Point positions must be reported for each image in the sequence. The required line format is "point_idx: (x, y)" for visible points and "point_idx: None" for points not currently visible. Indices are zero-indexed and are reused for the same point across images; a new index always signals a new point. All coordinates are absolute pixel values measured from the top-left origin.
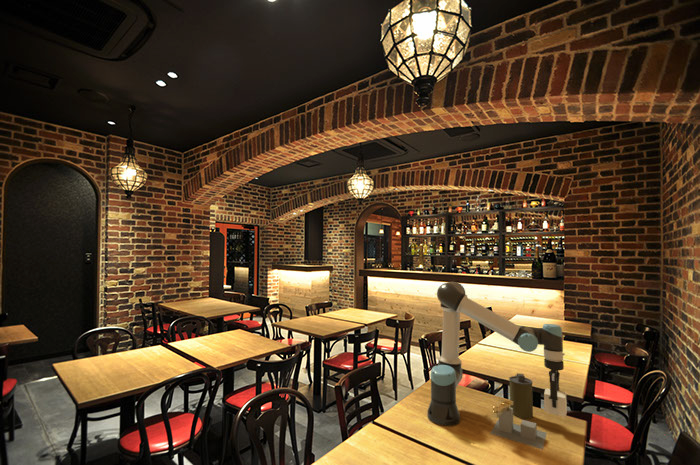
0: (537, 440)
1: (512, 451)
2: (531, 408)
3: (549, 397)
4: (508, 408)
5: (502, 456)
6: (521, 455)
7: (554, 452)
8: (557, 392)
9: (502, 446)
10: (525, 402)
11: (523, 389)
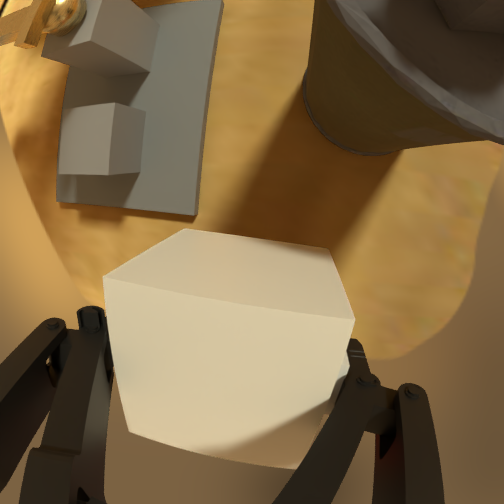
0: (100, 178)
1: (30, 116)
2: (353, 138)
3: (78, 316)
4: (52, 34)
5: (8, 104)
6: (24, 144)
7: (79, 237)
8: (248, 419)
9: (42, 83)
10: (320, 87)
11: (326, 27)
